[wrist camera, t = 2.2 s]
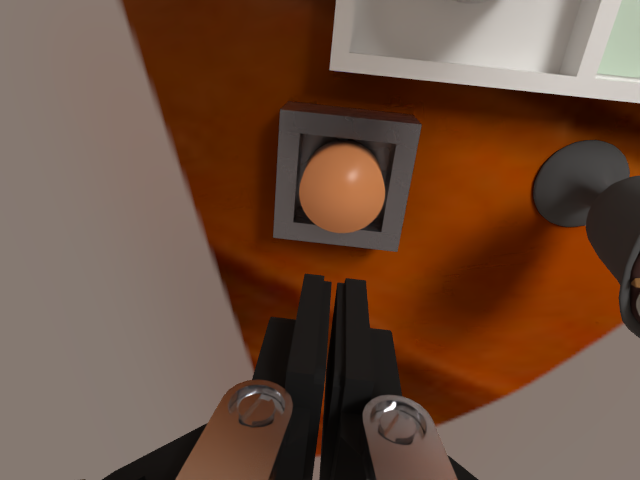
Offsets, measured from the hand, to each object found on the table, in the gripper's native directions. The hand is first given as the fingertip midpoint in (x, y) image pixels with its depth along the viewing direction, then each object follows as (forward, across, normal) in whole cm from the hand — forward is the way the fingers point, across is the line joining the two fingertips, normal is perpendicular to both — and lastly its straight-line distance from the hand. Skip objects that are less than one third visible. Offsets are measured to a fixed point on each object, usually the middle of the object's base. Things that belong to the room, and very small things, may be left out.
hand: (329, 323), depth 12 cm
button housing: (+14, 0, -1) cm, 14 cm away
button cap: (+12, 0, -1) cm, 12 cm away
